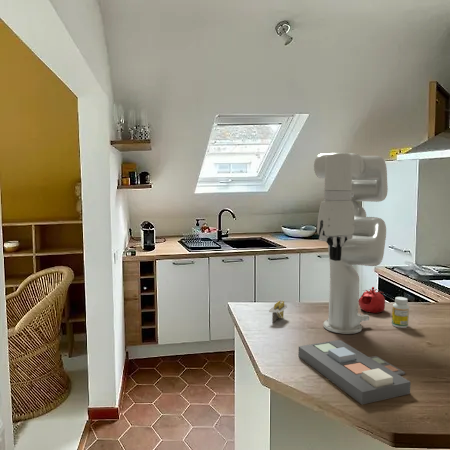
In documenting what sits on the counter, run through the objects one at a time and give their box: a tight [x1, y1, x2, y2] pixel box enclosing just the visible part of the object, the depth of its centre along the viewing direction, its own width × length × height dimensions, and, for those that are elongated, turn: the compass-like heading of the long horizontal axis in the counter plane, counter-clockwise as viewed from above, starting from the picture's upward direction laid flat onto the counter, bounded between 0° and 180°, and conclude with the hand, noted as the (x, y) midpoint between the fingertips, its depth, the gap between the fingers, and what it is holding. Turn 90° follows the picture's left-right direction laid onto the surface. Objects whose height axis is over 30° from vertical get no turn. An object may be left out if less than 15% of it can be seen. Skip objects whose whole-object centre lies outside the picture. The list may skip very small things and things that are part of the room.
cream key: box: [362, 368, 393, 388], centre depth 106 cm, size 5×5×3 cm
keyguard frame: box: [297, 339, 411, 405], centre depth 116 cm, size 14×28×3 cm, turn 21°
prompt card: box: [369, 355, 406, 376], centre depth 120 cm, size 5×11×1 cm, turn 21°
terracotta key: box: [344, 363, 371, 375], centre depth 113 cm, size 5×5×3 cm
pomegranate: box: [358, 286, 386, 314], centre depth 168 cm, size 10×10×9 cm
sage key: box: [314, 343, 336, 353], centre depth 126 cm, size 5×5×3 cm
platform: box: [268, 300, 288, 324], centre depth 157 cm, size 12×18×7 cm, turn 153°
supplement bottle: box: [391, 296, 410, 329], centre depth 152 cm, size 5×5×10 cm
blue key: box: [328, 347, 355, 363], centre depth 119 cm, size 5×5×3 cm
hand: (335, 259), depth 129 cm, fingers closed
